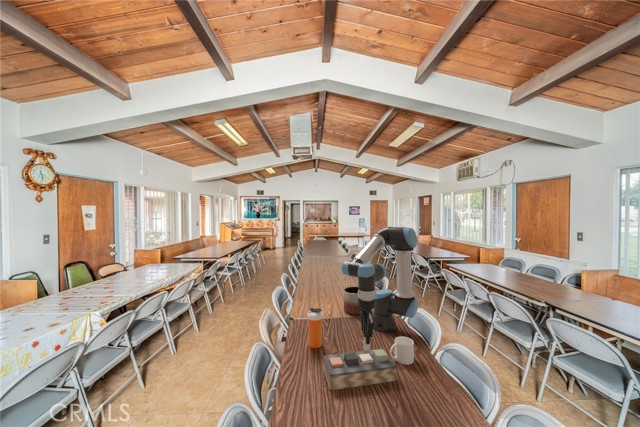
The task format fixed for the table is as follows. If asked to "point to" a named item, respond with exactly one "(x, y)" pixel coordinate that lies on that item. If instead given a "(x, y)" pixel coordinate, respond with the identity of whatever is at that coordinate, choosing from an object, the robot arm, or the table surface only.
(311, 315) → the shaker bottle
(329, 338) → the table surface
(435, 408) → the table surface
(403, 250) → the robot arm
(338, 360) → the key terracotta
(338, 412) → the table surface
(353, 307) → the planter
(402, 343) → the mug
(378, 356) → the key sage
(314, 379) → the table surface
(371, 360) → the key ivory
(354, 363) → the key dark gray
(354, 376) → the console
